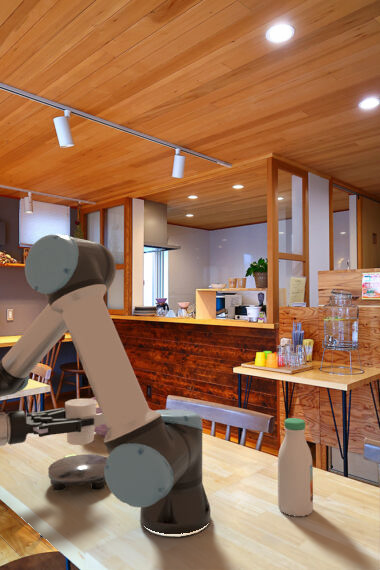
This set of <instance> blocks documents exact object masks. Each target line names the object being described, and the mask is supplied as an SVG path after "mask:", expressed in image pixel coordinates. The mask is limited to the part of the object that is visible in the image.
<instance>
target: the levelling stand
mask: <svg viewBox="0 0 380 570" xmlns="http://www.w3.org/2000/svg"><path fill="white" fill-rule="evenodd" d="M107 457H108V456H107ZM107 457H106V456H104V455H100V454H87V453H86V454H76V453H74V454H69V455H65V456H63V458H59V459H57V460H56V461H54V462H52V463H51V464H50V465H49V467H48V475H47V476H48V478H49V480H50V481H49V482H50V485H52V491H54V492H62V491H65V490H66V489H67V486H68V485H70V486H72V485H73V486H74V485H78V486H79V485H85V484H90V485H91V490H93V491H100V490H101V491H102V490H103V489H105V483H106V480H105V475H104V468H105V466H106V460H107Z"/></svg>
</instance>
